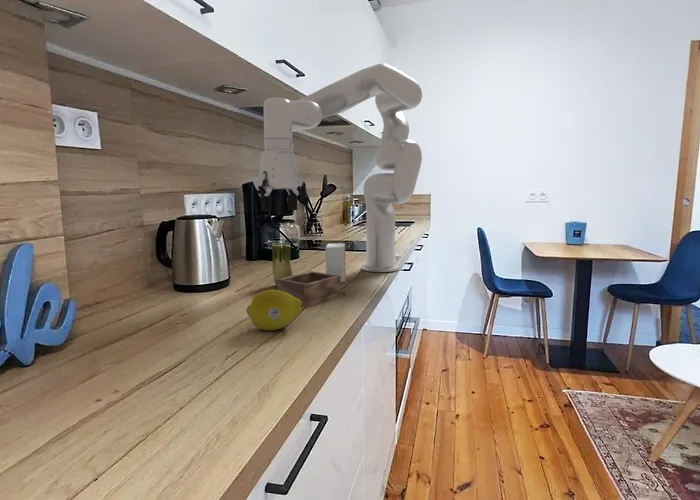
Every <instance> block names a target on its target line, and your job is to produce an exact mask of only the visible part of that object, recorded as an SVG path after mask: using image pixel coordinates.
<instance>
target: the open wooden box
mask: <svg viewBox="0 0 700 500" xmlns="http://www.w3.org/2000/svg"><path fill="white" fill-rule="evenodd" d="M276 286H277V290H281V291H284V292H287V293H289V294H290V295H292V296H293V297H295V298H298V299H299V300H301V307H307V308H309V307H312V306H315V305H318V304H321V303H323V302H328V301H329V300H331V301H332V300H334V299H337V298H339V297H343V296H345V295H346V290H342V288H341V286H342V282H341V276H338V275H332V274H326V272H325V273H324V272H318V271H313V270H310V271H306V272H302V273H298V274H292V276H289V277H285V278H281V279H277V285H276Z"/></svg>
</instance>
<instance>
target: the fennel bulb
mask: <svg viewBox="0 0 700 500" xmlns="http://www.w3.org/2000/svg"><path fill="white" fill-rule="evenodd" d="M271 250H272V275H273V281H274V283H275V285H276V286H277V279H281V278H285V277H289V276H293V269H292V265H291V246H290V245H288V244H286V243H283V244H272V245H271Z"/></svg>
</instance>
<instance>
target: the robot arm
mask: <svg viewBox="0 0 700 500" xmlns="http://www.w3.org/2000/svg"><path fill="white" fill-rule="evenodd" d="M373 97H375V98H374V100H375V101H374V102H375V106H376V108H377V110H378V112H379V114H380V116H381V118H382V122H383V129H382V133H381V138H380V141H379V145H378V148H377V152H376V157H375V163H376V166H377V168H378V169H380V170H381V171H384V172H383V173H382V172H381V173H380V172H379V173H375V174H372V175H370V176H368V177H367V178H366V179H365V181H364V183H363V196H364V201H365V212H366V216H365V217H366V222H365V223H366V227H365V228H366V230H365V231H366V236H365V237H366V242H365V243H366V245H365V247H366V249H365V250H366V253H365V255H366V259H365V260H366V262H365V263H363V264H361V269H362V271H365V272H371V273H390V272H391V273H392V272H396V271H398V270H400V265H399V264H398V263H396V261H399V260H401V255H400V254H395V253H396V248H395V247H396V214H395V213H396V212H395V209H394V207H393V204H394V205H395V204H396V205H397V204H399V205H402V204H406V203H407V202H409V201H410V199H411V198H412V196H413V194H414V192H415V188H416V184H417V180H418V177H419V174H420V169H421V165H422V160H423V155H422V150H421V149H422V148H421V146H420V145H419V144H418V143H417V141H414V140H412V139H409V138H408V137H409V133H410V126H409V122H408V120H407V118H406V116H405V114H404V112H403V111H407V110H412V109H415V108H416V107H418V106H419V105H420V103H421V101H422V99H423V92H422V88H421V85H420V84H419V82H417V81H416V80H415V79H414V78H412V77H410V76H408V74H405V73H404V72H403V71H401V70H398V69H397V67H393V66H391V65H389V64H387V63H378V64H374V65H371V66H369V67H365V68H362V69H360V70H358V71H356V72H353V73H351V74H349V75H347V76H345V77H343V78H341V79H339V80H337V81H334V82H333V83H331V84H328V85H326V86H324V87H322V88H321V89H318V90H316V91H315V92H312V93H310V94H308V95H306V96H304V97H302V98H299V99H297V100H294V99H293V100H290V99H287V98H284V97H283V98H282V97H271V98H266V100H264V102H263V135H264V136H263V137H264V142H263V144H264V151H262V152H261V155H260V163H259V175H258V176H256V177H254V178H253V179H252V183H253V186H254V187H255V191H256V192H257V193H258V196H259V197H260V202H261V203H260V205H261V206H260V208H261V211H262V212H266V213H267V212H269V213H270V212H272V197H271V196H270V195H271V192H272V191H273V190H286V192H287V194H288V195H287V210H289V211H297V210H298V196H299V195H300V192H301V190H302V186H303V183H304V180H303V179H302V178H300V177H299V176H298V175H297V174H298V173H297V165H296V164H297V163H296V158H295V153H294V148H295V145H294V144H293V142H294V141H293V133H294V132H300V131H307V130H312V129H315V128H317V126H319V125H320V123H321V122H322V119H324V118H327V117H331V116H335V115H338V114H341V113H344V112H346V111H348V110H350V109H352V108H353V107H355V106H357V105H359V104H361V103H363V102H365V101H367V100H369V99H371V98H373ZM385 171H386V172H385ZM390 172H392V173H390Z"/></svg>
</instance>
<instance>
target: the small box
mask: <svg viewBox="0 0 700 500" xmlns="http://www.w3.org/2000/svg"><path fill="white" fill-rule="evenodd" d="M325 273H326V274H332V275H338V276H341V283H345V282H346V243H327V244H326V247H325Z"/></svg>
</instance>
